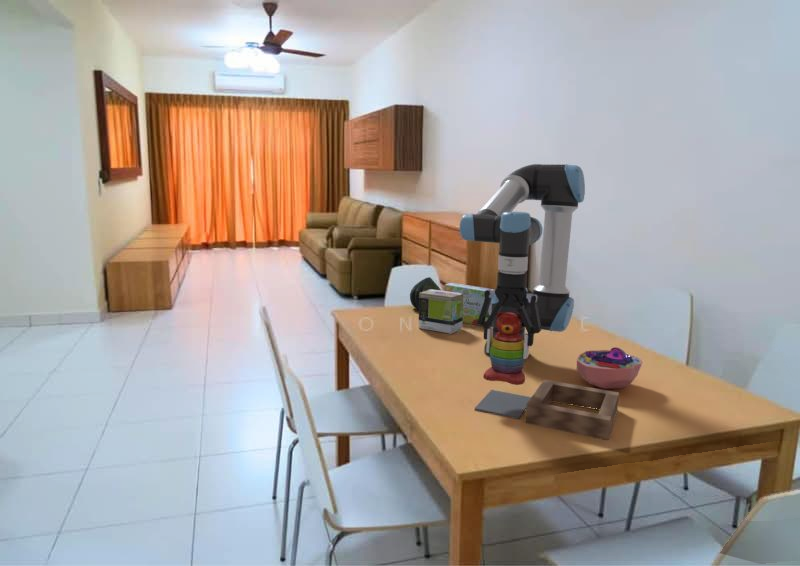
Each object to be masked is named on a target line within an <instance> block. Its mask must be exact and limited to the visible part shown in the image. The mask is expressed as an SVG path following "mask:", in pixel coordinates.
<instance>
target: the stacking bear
mask: <svg viewBox="0 0 800 566" xmlns="http://www.w3.org/2000/svg"><path fill="white" fill-rule="evenodd" d="M497 318H498V319H497V323H496V324H497V329H498V331H499V332H498V333H496V335H495V336H494V338H493V340H492V345H491V348H490V356H489V359H490V360H489V361H490V364H491V367H489V368H488V369H486V370H485V371H484V373H483V376H482V377H483V379H484V380H486V381H489V382H503V383H507V384H510V385H514V386H522V385H523V384H524V383H525V382H526V376H525V373H524V371H523V368H524V363H525V360H526V359H523V353H524V341H523V337H522V336H521V335H520V334H519V332H520V330H521V327H522V322H521V316H520V314H519V313H517V314H514V313H510V312H507V313H503V312H499V313H498V314H497Z"/></svg>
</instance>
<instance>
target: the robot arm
mask: <svg viewBox="0 0 800 566" xmlns="http://www.w3.org/2000/svg"><path fill="white" fill-rule="evenodd" d="M499 187H500V188H499V189H498V190H497V191H496V192H495V193H494V194H493V195H492V196H491V198H490V199H488V201H487V202H486V203H485V204H484V205H483V206H482V208H480V210H479V211H477V213H476V214H475V213H468V214H467V213H466V214H463V215H462V217H460V218H461V219H460V222H459V234H460V238H461V239H462V240H464V241H470V242H477V243H478V242H479V243H480V242H481V243H492V244H493V243H494V244H498V259H497V260H498V261H497V263H498V264H497V269H498V270H499V271H498V272H497V277H496V288H495V289H494V290H491V289H492V288H488V290H486V291H485V300H484V303H483V306H482V309H481V313H480V316H479V319H478V322H477V323H478V325H477V326H480V325H481V327H483V339H484V340H485V344H484V349H483V351H484V354H485V355H486V356H488V357H490V348H491V345H492V340H493V338H494V336H495V335H496V333H498V332H499V331H498V329H497V324H496V323H497V319H498V318H497V314H498V313H499V312H503V313H507V312H510V313H514V314H517V313H519V314H520V316H521V322H522V327H521V330H520V332H519V334H520V335H521V336H522V337H523V341H524V353H523V359H525V360H526V359H528V357H529V355H530V354H529V353H530V352H529V351H530V347H532V346H533V345H534V337H535V334H539V333H540V332H542V331H549V332H557V333H559V332H560V333H562V332H564V331H565V330H567V328H568V326H569V324H570V322H571V318H572V316H573V312H574V307H575V304H574V303H575V299H574V298H573V297H570V290H569V289H568V288H567V286H566V283H567V282H566V281H567V272H568V262H569V254H570V253H569V251H570V243H571V242H570V241H571V240H570V239H571V231H572V230H571V229H572V223H573V222H572V221H573V213H574V212H575V211H576V210H578V208H579V204H580V203H581V204H582V203H583V202H584V200H585V195H586V185H585V175H584V171H583V170H582V168H581V167H580V166H579V165H575V164H541V163H540V164H539V163H534V164H528V165H524V166H522V167H520V168H518V169H515V170H514V171H512V172H510V173H509V174H508V175H507V176H506V177H505V178H504V179H503V180H502V181H501V184H500V186H499ZM529 200H531V201H540V207H541V208H542V209H543V210H544V221H543V226H542V223H541V222H540V221H539V220H538V219H537V218H535V217H533V216H531V215H530V213H529V212H526V211H514V209H516V207H517V206H518V205H519V204H522V203H523V202H526V201H529ZM541 237H542V241H541V251H540V252H541V253H540V262H539V263H540V265H539V276H538V284H537V285H535V287H534V288H532V289H533V291H532V292H529V290H528V288H527V280H528V279H527V277H528V274H527V271H528V264H529V263H528V262H529V247H530V246H531V245H533V244H536V243H537V241H539V240H540V239H541ZM492 297H493V298H492ZM491 299H492V303H491V304H492V311H491V315H490V316H489V318H488V319H487V321H485V318H486V315H487V312H488V309H489V306H490V302H491Z"/></svg>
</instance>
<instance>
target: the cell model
mask: <svg viewBox="0 0 800 566" xmlns="http://www.w3.org/2000/svg"><path fill="white" fill-rule="evenodd" d="M642 365H643V360H642V359H641V358H639V357H636V356H635V355H631V354H627V353H626V351H624V350H623V349H621V348H620V347H617V346H616V347H611V349H610V350H608V349H606V350H605V349H600V350H599V349H598V350H586V351H584V352H582V353H580V354H578V356H577V358H576V371H577V372H578V374H579V375H580V377H581V378H582V379H584V380H585V381H586V383H588V384H590V385H591V386H594V387H597V388H599V389H602V390H610V389H622V388H626V387H628V386H629V385H631V384H632V383H633V382H634V381H635V379H636V378H637V376H638V375H639V373H640V370H641V367H642Z"/></svg>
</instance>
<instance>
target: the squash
mask: <svg viewBox="0 0 800 566" xmlns="http://www.w3.org/2000/svg"><path fill="white" fill-rule="evenodd" d="M430 289H434V290H442V289H441V288H440V287H439V285H437V283H436V282H435V280H434V279H433V278H432V277H431V276H430V277H425V278H424V279H421V280H420V281H419V282H417V283H416V284H415V285H414V286H413V287H412V289H411V290H410V292H409V293H410V294H409V300H410V303H411V305H412V306H413V307H414V309H418V310H419V293H420V292H424V291H427V290H430Z"/></svg>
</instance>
